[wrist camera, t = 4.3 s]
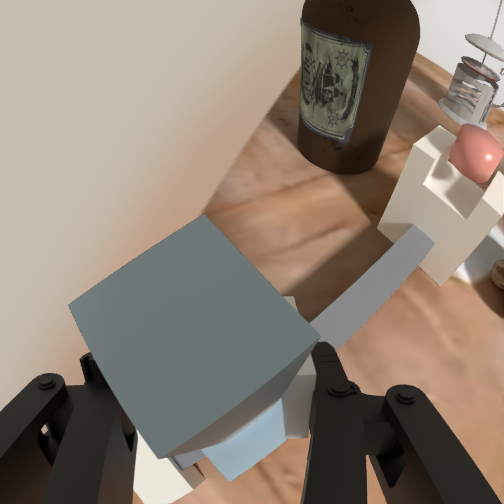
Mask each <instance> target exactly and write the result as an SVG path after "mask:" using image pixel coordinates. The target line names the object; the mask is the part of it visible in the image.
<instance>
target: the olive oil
mask: <svg viewBox="0 0 504 504" xmlns="http://www.w3.org/2000/svg"><path fill="white" fill-rule="evenodd" d="M301 28H302V32H301V33H302V34H301V36H302V38H301V40H302V41H301V43H302V44H301V49H302V50H301V88H300V112H299V127H298V145H299V148H300V150H301V152H302V153H303V155H304V156H305V157H306V158H307V159H309V160H310V161H311V162H313V163H314V164H316V165H317V166H319V167H321V168H324V169H326V170H329V171H333V172H337V173H344V174H355V173H361V172H364V171H367V170H369V169H370V168H372V167H373V166H374V165H375V163H376V162H377V160H378V157H379V155H380V152H381V150H382V147H383V144H384V141H385V139H386V136H387V133H388V130H389V127H390V125H391V122H392V119H393V117H394V114H395V111H396V108H397V106H398V103H399V100H400V97H401V94H402V92H403V89H404V86H405V83H406V80H407V77H408V75H409V72H410V69H411V66H412V63H413V60H414V57H415V54H416V51H417V48H418V45H419V40H420V24H419V18H418V14H417V11H416V9H415V7H414V5H413V4H412V2H411V1H410V0H305V3H304V6H303V10H302V19H301Z"/></svg>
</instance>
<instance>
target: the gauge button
mask: <svg viewBox="0 0 504 504" xmlns="http://www.w3.org/2000/svg"><path fill="white" fill-rule="evenodd" d="M503 154H504V152H503V149H502V147H501V145H500V144H499V142H498V141H497V140H496V139H495V138H494V137H493V136H492V135H491V134H490V133H488V132H487V131H486V130H484V129H482V128H481V127H479V126H476V125H474V124H469V123H466V124H463V125H462V127H461V129H460V131H459V134H458V136H457V138H456V140H455V142H454V144H453V146H452V148H451V150H450V153H449V157H450V160H451V162H452V164H453V165H454V167H455V168H456V169H457V170H458V171H459V172H460V173H461V174H462V175H464V176H465V177H466V178H468V179H470V180H472V181H474V182H477V183H486V182H487V181H488V180H489V178H490V177H491V175H492V173H493V172H494V170H495V168H496V167H497V165H498V164H499V162H500V160H501V158H502V157H503Z"/></svg>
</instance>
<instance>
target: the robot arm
mask: <svg viewBox="0 0 504 504" xmlns="http://www.w3.org/2000/svg"><path fill="white" fill-rule="evenodd" d="M283 297H284V298H285V299H286V300H287V301H288V302H289V303H290V304H291V305H292V306H293V307H294V308H295V309H296V310H297V311H298V309H297V306H296V303H295V299H294V296H283ZM80 363H81V367H82V371H83V374H84V378H85V383H84V385H73V386H66V384H65V381H64V379H63V378H62V376H60V375H58V374H54V373H47V374H46V373H45V374H42V375H40V376H37V377H36V378H35V379H33V380H32V381H31V382H30V383H29V384H28V385H27V386H26V387H25V388H24V389H23V390H22V391H21V392H20V393H19V394H18V395H17V396H16V397H15V398H14V399H13V400H12V401H10V402H9V404H8V405H7V406H5V407H4V408H3V409H2V411H1V412H0V504H132V499H133V485H134V474H135V463H136V453H137V444H138V434H137V430H136V428H135V426H134V425H133V423H132V422H131V420H130V419H129V417H128V415H127V414H126V412H125V411H124V409H123V408H122V406H121V404H120V403H119V401H118V400H117V398H116V396H115V395H114V393H113V391H112V390H111V388H110V386H109V385H108V383H107V381H106V379H105V378H104V376H103V374H102V372H101V371H100V369H99V367H98V365H97V363H96V361H95V359H94V358H93V356H92V354H91V352H89V353H87V354H85V355H83V356H82V357H81V358H80ZM281 400H282V410H283V420H284V431H285V439H291V438H308V433H309V429H310V434H311V439H310V445H309V451H308V457H307V466H306V473H305V479H304V486H303V492H302V498H301V503H300V504H367V472H366V455H369V459H370V461H371V464H372V466H373V469H374V471H375V474H376V476H377V479H378V481H379V484H380V486H381V489H382V491H383V494H384V496H385V499H386V502H387V504H502V503H501V502H500V500H499V498H498V497H497V495H496V494H495V492H494V491H493V489H492V488H491V486H490V485H489V483H488V482H487V480H486V479H485V477H484V476H483V474H482V473H481V471H480V470H479V468H478V467H477V466H476V464H475V463H474V461H473V460H472V458H471V457H470V455H469V454H468V453H467V451H466V450H465V448H464V447H463V445H462V444H461V443H460V441H459V440H458V438H457V437H456V436H455V434H454V433H453V431H452V430H451V429H450V427H449V426H448V425H447V423H446V422H445V420H444V419H443V418H442V416H441V415H440V414H439V412H438V411H437V410H436V408H435V407H434V406H433V404H432V403H431V402H430V400H429V399H428V398H427V396H426V395H425V394H424V392H422V391H421V390H420V389H419V388H416V387H414V386H411V385H406V384H405V385H396V386H393V387H391V388H390V389H388V390H387V392H386V395H385V396H374V395H367V394H364V393H361V391H360V388H359V386H357V385H356V384H355V383H354V382H351V381H349V380H348V379H347V376H346V374H345V372H344V369H343V367H342V364H341V362H340V360H339V357H338V356H337V353H336V351H335V348H334V347H333V346H332V345H330V344H329V343H328V342H317V343H316V345H315V347H314V348H313V350H312V351H311V353H310V355H309V356H308V358H307V359H306V361H305V362H304V364H303V365H302V367H301V368H300V370H299V371H298V373H297V375H296V376H295V378H294V379H293V381H292V382H291V383H290V385H289V386H288V388H287V389H286V391H285V392H284V394H283V395H282V397H281ZM44 425H46V427H47V429H48V431H47V432H46V433H45V434H43V433H42V431H41V429H42V427H43V426H44Z"/></svg>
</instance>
